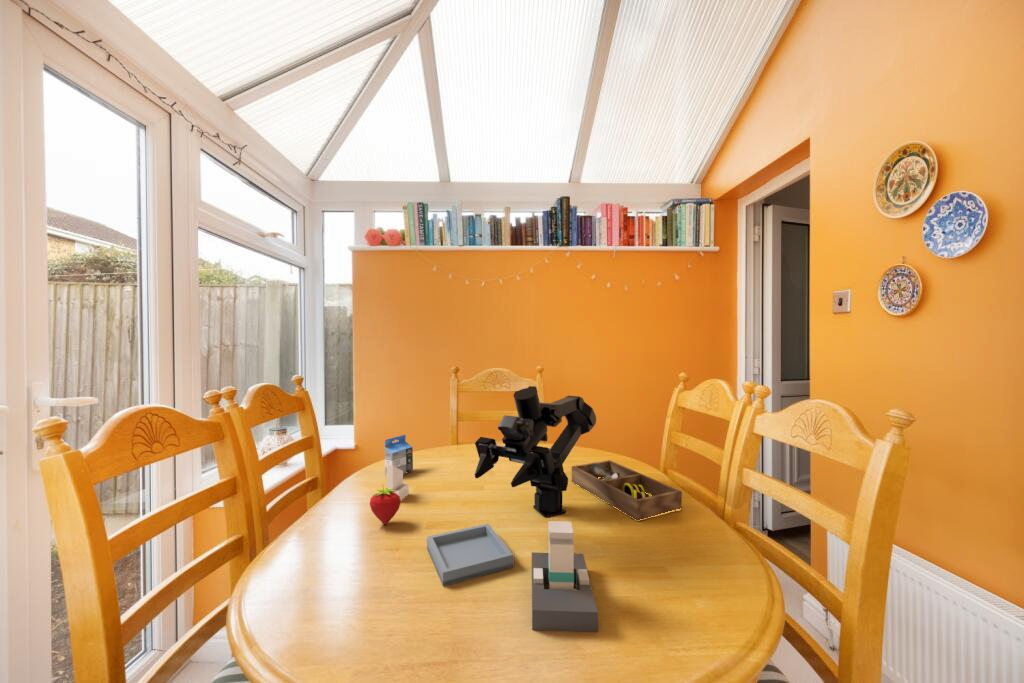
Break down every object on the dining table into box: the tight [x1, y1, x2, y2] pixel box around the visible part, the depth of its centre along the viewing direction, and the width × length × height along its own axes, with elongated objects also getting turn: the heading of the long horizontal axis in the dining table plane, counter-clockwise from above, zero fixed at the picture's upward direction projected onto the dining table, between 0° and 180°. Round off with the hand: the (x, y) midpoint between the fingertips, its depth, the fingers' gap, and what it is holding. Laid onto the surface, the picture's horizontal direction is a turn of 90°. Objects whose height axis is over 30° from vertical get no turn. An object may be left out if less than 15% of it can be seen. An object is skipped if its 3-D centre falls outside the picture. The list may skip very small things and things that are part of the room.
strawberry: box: [369, 484, 402, 525], centre depth 92 cm, size 6×8×10 cm
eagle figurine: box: [590, 464, 620, 481], centre depth 115 cm, size 8×7×9 cm
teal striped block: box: [547, 520, 575, 590], centre depth 66 cm, size 4×4×12 cm
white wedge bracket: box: [386, 465, 410, 501], centre depth 107 cm, size 4×10×9 cm, turn 168°
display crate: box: [571, 459, 683, 520], centre depth 109 cm, size 15×29×5 cm, turn 24°
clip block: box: [531, 551, 599, 633], centre depth 66 cm, size 16×10×4 cm, turn 177°
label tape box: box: [384, 434, 414, 476], centre depth 127 cm, size 9×4×12 cm, turn 147°
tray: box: [426, 523, 515, 587], centre depth 78 cm, size 14×14×2 cm
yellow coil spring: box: [622, 483, 651, 499], centre depth 103 cm, size 10×5×5 cm, turn 3°
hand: (493, 480), depth 78 cm, fingers open, 9 cm apart
